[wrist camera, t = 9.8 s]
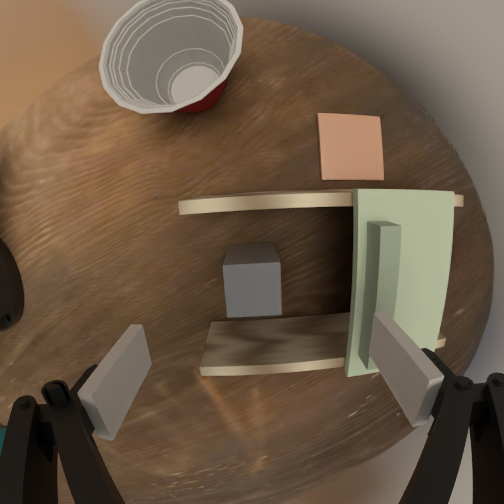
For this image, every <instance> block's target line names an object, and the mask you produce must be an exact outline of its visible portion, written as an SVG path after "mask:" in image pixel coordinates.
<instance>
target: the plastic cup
mask: <svg viewBox="0 0 504 504" xmlns="http://www.w3.org/2000/svg"><path fill="white" fill-rule="evenodd" d="M242 35H243V26H242V23H241V21H240V19H239V17H238V14H237V12H236V10H235V9H234V6H233V5H231V4H230V3H229V2H227V1H226V0H142V1H140V2H138V3H137V4H136V5H134V6H133V7H132V8H131V9H130V10H129V11H128V12H126V13H125V14H124V15H123V16H122V17H121V18H120V19H119V20H117V22H116V23H115V25H114V27H113V28H112V30H111V31H110V33H109V35H108V36H107V38H106V40H105V42H104V44H103V48H102V53H101V58H100V63H99V70H100V74H101V78H102V83H103V87H104V89H105V90H106V91H107V93H108V94H109V95H110V96H111V97H112V98H113V99H114V101H115V102H116V103H117V104H118V105H119V106H122V107H125V108H128V109H130V110H133V111H136V112H138V113H141V114H146V113H163V112H173V111H179V112H185V113H199V112H202V111H204V110H207V109H209V108H211V107H212V106H213V105H214V104H215V103H217V102H218V100H219V99H220V97H221V95H222V93H223V91H224V87H225V86H226V83H227V79H228V74H229V72H230V71H231V69H232V67H233V65H234V64H235V62H236V60H237V59H238V57H239V55H240V53H241V45H242Z"/></svg>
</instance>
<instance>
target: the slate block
mask: <svg viewBox="0 0 504 504" xmlns="http://www.w3.org/2000/svg"><path fill="white" fill-rule="evenodd" d="M222 266H223V278H224V289H225V300H226V311H227V318H230V317H252V316H269V315H282V303H281V266H280V260H279V257H278V254H277V252H276V249H275V246H274V244H273V242H263V243H245V244H229V247H228V250H227V253H226V256H225V259H224V262H223V265H222Z"/></svg>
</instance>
